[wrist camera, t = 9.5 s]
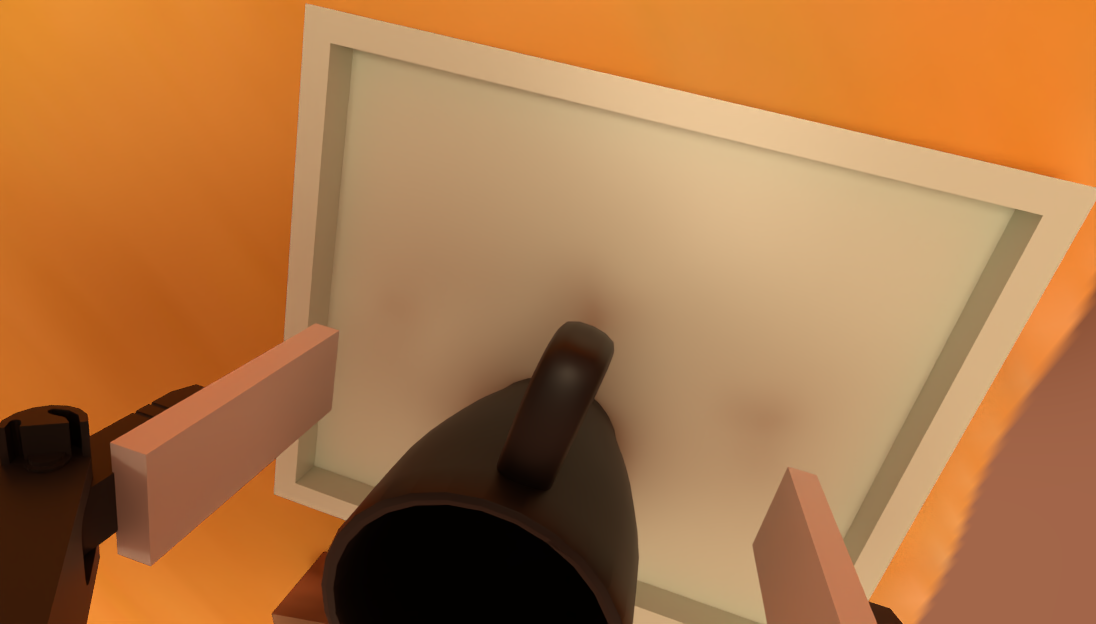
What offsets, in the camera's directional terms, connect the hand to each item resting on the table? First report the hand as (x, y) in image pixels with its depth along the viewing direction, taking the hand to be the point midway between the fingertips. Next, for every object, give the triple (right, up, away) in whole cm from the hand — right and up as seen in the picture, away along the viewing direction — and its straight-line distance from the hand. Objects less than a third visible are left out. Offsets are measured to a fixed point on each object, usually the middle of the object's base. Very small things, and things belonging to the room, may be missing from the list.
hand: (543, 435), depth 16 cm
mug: (+1, 0, +6) cm, 7 cm away
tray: (+2, +2, +6) cm, 7 cm away
